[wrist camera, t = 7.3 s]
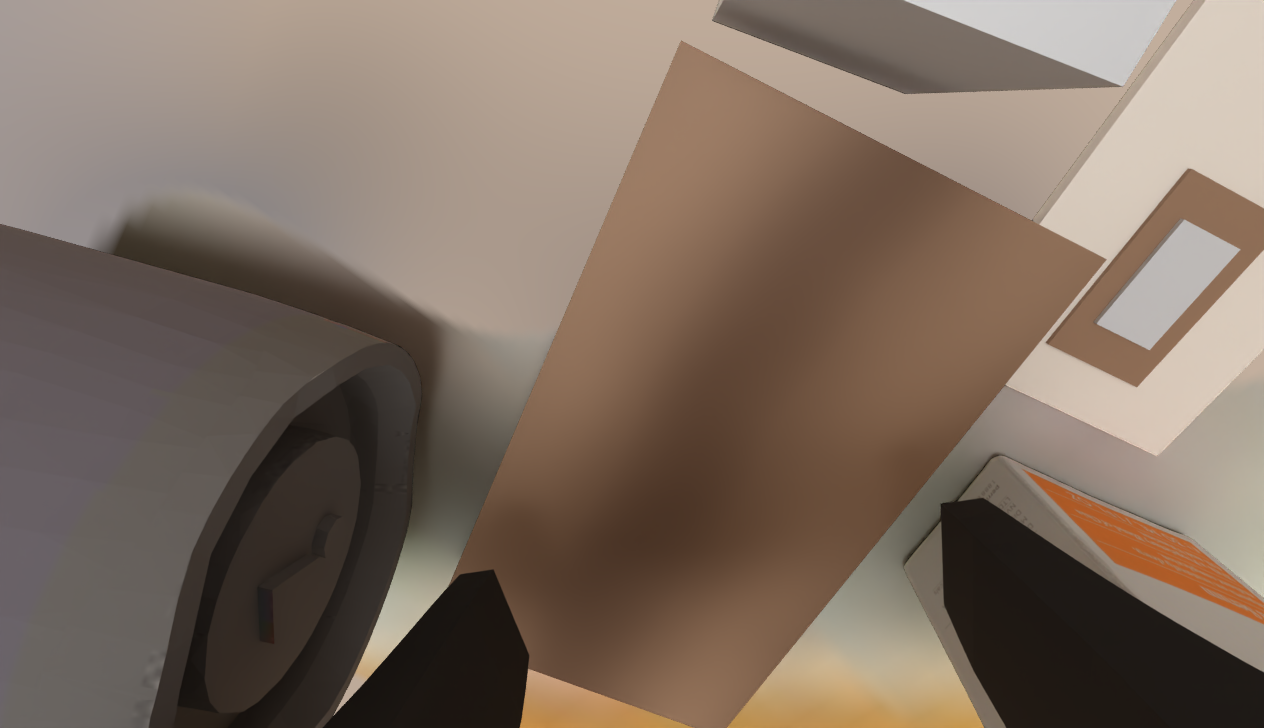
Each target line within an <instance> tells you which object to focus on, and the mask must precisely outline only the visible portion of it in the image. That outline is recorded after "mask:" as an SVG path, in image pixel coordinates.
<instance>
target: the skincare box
mask: <svg viewBox="0 0 1264 728" xmlns="http://www.w3.org/2000/svg"><path fill="white" fill-rule="evenodd" d="M977 498H985V499H986V500H988V501H989V502H991V503H992V504H994V505H995V506H997V507H998V508H1000V509H1001V510H1003V511H1004V512H1006V513H1007V514H1009V515H1010V516H1012V517H1013V518H1015V519H1016V520H1018V521H1019V522H1020V523H1022V524H1023V525H1025V526H1026V527H1028V528H1029V529H1031V530H1032V531H1034V532H1035V533H1037V534H1038V535H1040V536H1041V537H1043V538H1044V539H1046V540H1047V541H1049V542H1050V543H1052V544H1053V545H1055V546H1056V547H1058V548H1059V549H1061V550H1062V551H1064V552H1065V553H1067V554H1068V555H1070V556H1071V557H1073V558H1074V559H1076V560H1077V561H1079V562H1080V563H1082V564H1084V565H1085V566H1087V567H1088V568H1090V569H1091V570H1093V571H1094V572H1096V573H1097V574H1099V575H1101V576H1102V577H1104V578H1105V579H1107V580H1108V581H1110V582H1112V583H1113V584H1115V585H1116V586H1118V587H1120V588H1121V589H1123V590H1124V591H1126V592H1127V593H1129V594H1131V595H1132V596H1134V597H1135V598H1137V599H1139V600H1140V601H1142V602H1144V603H1145V604H1147V605H1148V606H1150V607H1152V608H1153V609H1155V610H1157V611H1158V612H1160V613H1162V614H1163V615H1165V616H1167V617H1168V618H1170V619H1172V620H1173V621H1175V622H1177V623H1178V624H1180V625H1182V626H1184V627H1185V628H1187V629H1189V630H1190V631H1192V632H1194V633H1196V634H1197V635H1199V636H1201V637H1203V638H1204V639H1206V640H1208V641H1209V642H1211V643H1213V644H1215V645H1216V646H1218V647H1220V648H1222V649H1223V650H1225V651H1227V652H1229V653H1230V654H1232V655H1234V656H1235V657H1237V658H1239V659H1241V660H1242V661H1244V662H1246V663H1248V664H1250V665H1251V666H1253V667H1255V668H1257V669H1259V670H1261V671H1262V672H1264V598H1263V597H1262V596H1261V595H1259V594H1258V593H1257V592H1256V591H1255V590H1253V589H1252V588H1251V587H1250V586H1248V585H1247V584H1246V583H1245V582H1244V581H1242V580H1241V579H1240V578H1239V577H1238V576H1236V575H1235V574H1234V573H1233V572H1232V571H1230V570H1229V569H1228V568H1227V567H1225V566H1224V565H1223V564H1222V563H1221V562H1219V561H1218V560H1217V559H1216V558H1215V557H1214V556H1212V555H1211V554H1210V553H1209V552H1207V551H1206V550H1205V549H1204V548H1203V547H1201V546H1200V545H1199V544H1198V543H1197V542H1195V541H1194V540H1193V539H1191V538H1189V537H1187V536H1185V535H1182V534H1179V533H1176V532H1173V531H1171V530H1168V529H1166V528H1163V527H1161V526H1159V525H1156V524H1154V523H1152V522H1150V521H1147V520H1145V519H1143V518H1140V517H1138V516H1136V515H1133V514H1131V513H1129V512H1126V511H1124V510H1122V509H1119V508H1117V507H1114V506H1112V505H1110V504H1107V503H1105V502H1103V501H1100V500H1098V499H1096V498H1093V497H1091V496H1089V495H1087V494H1084V493H1082V492H1080V491H1078V490H1076V489H1074V488H1072V487H1070V486H1068V485H1066V484H1063V483H1061V482H1059V481H1057V480H1055V479H1053V478H1051V477H1049V476H1046V475H1044V474H1042V473H1040V472H1038V471H1035V470H1033V469H1031V468H1029V467H1026V466H1024V465H1022V464H1020V463H1018V462H1016V461H1014V460H1012V459H1010V458H1007V457H1005V456H997V457H994V458H992V459H991V460H990V461H989V462H988V464H987V465H986V466H985V468H984V469H983V470H982V471H981V473H980V474H979V475H978V476H977V478H976V479H975V480H974V481H973V483H972V484H971V485H970V486H969V487H968V489H967V490H966V491H965V492H964V494H963V495H962V496H961V497H960V498H959V500H958V501H964V500H970V499H977ZM904 570H905V573H906V575H907V577H908V579H909V581H910V583H911V585H912V587H913V589H914V591H915V593H916V595H917V597H918V599H919V601H920V602H921V604H922V606H923V608H924V610H925V612H926V614H927V616H928V618H929V620H930V622H931V624H932V626H933V628H934V630H935V631H936V633H937V635H938V637H939V639H940V641H941V643H942V645H943V647H944V649H945V651H946V653H947V655H948V657H949V659H950V661H951V663H952V665H953V667H954V669H955V671H956V673H957V675H958V677H959V679H960V681H961V682H962V684H963V686H964V688H965V690H966V692H967V694H968V696H969V698H970V700H971V702H972V704H973V706H974V708H975V710H976V712H977V714H978V716H979V718H980V720H981V722H982V724H983V726H984V728H1006V727H1005V725H1004V723H1003V721H1002V720H1001V718H1000V716H999V714H998V713H997V711H996V709H995V708H994V706H993V704H992V702H991V701H990V699H989V697H988V695H987V694H986V692H985V690H984V689H983V687H982V685H981V683H980V682H979V680H978V678H977V676H976V675H975V673H974V671H973V669H972V667H971V664H970V662H969V660H968V658H967V656H966V654H965V651H964V649H963V647H962V645H961V643H960V640H959V638H958V636H957V634H956V631H955V629H954V627H953V624H952V622H951V620H950V617H949V615H948V613H947V611H946V608H945V606H944V598H943V565H942V533H941V522H940V523H939V524H938V525H937V526H936V527H935V528H934V530H933V531H932V532H931V533H930V535H929V536H928V537H927V538H926V539H925V540H924V541H923V542H922V544H921V545H920V546H919V547H918V548H917V550H916V551H915V552H914V553H913V555H912V556H911V557H910V558H909V560H908V561H907V562H906V564H905V566H904Z"/></svg>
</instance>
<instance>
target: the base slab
mask: <svg viewBox="0 0 1264 728" xmlns="http://www.w3.org/2000/svg"><path fill="white" fill-rule="evenodd" d="M1106 260H1107V259H1105V258H1103V257H1101V256H1099V255H1097V254H1096V253H1094V252H1092V251H1090V250H1088V249H1086V248H1084V247H1082V246H1080V245H1078V244H1076V243H1074V242H1072V241H1070V240H1068V239H1066V238H1064V237H1062V236H1060V235H1059V234H1057V233H1055V232H1053V231H1051V230H1049V229H1047V228H1045V227H1043V226H1041V225H1039V224H1037V223H1035V222H1033V221H1031V220H1029V219H1027V218H1025V217H1023V216H1021V215H1020V214H1018V213H1016V212H1014V211H1012V210H1010V209H1008V208H1006V207H1004V206H1002V205H1000V204H998V203H996V202H994V201H992V200H990V199H988V198H986V197H985V196H983V195H981V194H979V193H977V192H975V191H973V190H971V189H969V188H967V187H965V186H963V185H961V184H959V183H957V182H955V181H953V180H951V179H949V178H947V177H946V176H944V175H942V174H940V173H938V172H936V171H934V170H932V169H930V168H928V167H926V166H924V165H922V164H920V163H918V162H916V161H914V160H912V159H911V158H909V157H907V156H905V155H903V154H901V153H899V152H897V151H895V150H893V149H891V148H889V147H887V146H885V145H883V144H881V143H879V142H877V141H875V140H873V139H872V138H870V137H867V136H866V135H864V134H862V133H860V132H858V131H856V130H854V129H852V128H850V127H848V126H846V125H844V124H842V123H840V122H838V121H837V120H835V119H833V118H831V117H829V116H827V115H825V114H823V113H821V112H819V111H817V110H815V109H813V108H811V107H809V106H807V105H805V104H803V103H801V102H800V101H797V100H795V99H793V98H792V97H790V96H788V95H786V94H784V93H782V92H780V91H778V90H776V89H774V88H772V87H770V86H768V85H766V84H764V83H762V82H761V81H759V80H757V79H754V78H753V77H751V76H749V75H747V74H745V73H743V72H741V71H739V70H737V69H735V68H733V67H731V66H729V65H727V64H726V63H724V62H722V61H720V60H718V59H716V58H714V57H712V56H710V55H708V54H706V53H704V52H702V51H700V50H698V49H696V48H694V47H692V46H690V45H688V44H687V43H684V42H683V41H681V42H680V44H679V47H678V49H677V51H676V54H675V56H674V59H673V61H672V63H671V66H670V68H669V71H668V73H667V75H666V77H665V80H664V82H663V84H662V87H661V89H660V91H659V94H658V96H657V98H656V101H655V104H654V106H653V108H652V110H651V113H650V115H649V117H648V119H647V122H646V124H645V127H644V129H643V131H642V134H641V136H640V138H639V141H638V143H637V145H636V148H635V150H634V153H633V155H632V157H631V159H630V162H629V164H628V166H627V169H626V171H625V173H624V176H623V178H622V181H621V183H620V186H619V188H618V190H617V192H616V195H615V197H614V199H613V202H612V204H611V206H610V209H609V211H608V214H607V216H606V218H605V221H604V223H603V225H602V228H601V230H600V232H599V235H598V237H597V239H596V242H595V244H594V246H593V249H592V251H591V253H590V256H589V258H588V260H587V263H586V265H585V267H584V270H583V272H582V275H581V277H580V279H579V282H578V284H577V286H576V288H575V291H574V293H573V296H572V298H571V300H570V303H569V305H568V307H567V310H566V312H565V314H564V317H563V319H562V321H561V324H560V326H559V328H558V331H557V333H556V335H555V338H554V340H553V342H552V345H551V347H550V349H549V352H548V354H547V357H546V359H545V361H544V364H543V366H542V368H541V371H540V373H539V375H538V378H537V380H536V382H535V385H534V387H533V389H532V392H531V394H530V396H529V399H528V401H527V403H526V406H525V408H524V411H523V413H522V415H521V418H520V420H519V422H518V425H517V427H516V429H515V432H514V434H513V436H512V439H511V441H510V443H509V446H508V448H507V450H506V453H505V455H504V457H503V460H502V462H501V464H500V467H499V469H498V472H497V474H496V476H495V479H494V481H493V483H492V486H491V488H490V490H489V493H488V495H487V497H486V500H485V502H484V504H483V507H482V509H481V511H480V514H479V516H478V518H477V521H476V523H475V526H474V528H473V530H472V533H471V535H470V537H469V540H468V542H467V544H466V547H465V549H464V551H463V554H462V556H461V558H460V561H459V563H458V565H457V568H456V570H455V572H454V575H453V577H452V579H451V582H450V584H451V583H452V582H453V581H454V580H455V579H456V578H457V577H458V576H459V575H460V574H465V573H472V572H479V571H485V570H492V569H494V571H495V574H496V576H497V579H498V581H499V583H500V586H501V588H502V591H503V593H504V595H505V598H506V600H507V603H508V605H509V607H510V610H511V612H512V615H513V617H514V619H515V622H516V624H517V627H518V629H519V631H520V634H521V636H522V639H523V641H524V643H525V646H526V648H527V651H528V653H529V664H528V669H531V670H534V671H536V672H539V673H542V674H545V675H548V676H551V677H553V678H556V679H559V680H562V681H565V682H567V683H570V684H573V685H576V686H579V687H581V688H584V689H587V690H590V691H593V692H595V693H598V694H601V695H604V696H607V697H610V698H612V699H615V700H618V701H621V702H624V703H626V704H629V705H632V706H635V707H638V708H640V709H643V710H646V711H649V712H652V713H654V714H657V715H660V716H663V717H666V718H669V719H671V720H674V721H677V722H680V723H683V724H685V725H688V726H691V727H694V728H727V727H728V725H729V724H730V723H731V722H732V720H733V719H734V718H735V717H736V716H737V714H738V713H739V712H740V711H741V709H742V708H743V707H744V706H745V704H746V703H747V702H748V701H749V700H750V698H751V697H752V696H753V695H754V693H755V692H756V691H757V690H758V688H759V687H760V686H761V685H762V684H763V682H764V681H765V680H766V679H767V677H768V676H769V675H770V674H771V672H772V671H773V670H774V669H775V668H776V666H777V665H778V664H779V663H780V661H781V660H782V659H783V658H784V656H785V655H786V654H787V653H788V652H789V650H790V649H791V648H792V647H793V645H794V644H795V643H796V642H797V640H798V639H799V638H800V637H801V635H802V634H803V633H804V632H805V631H806V629H807V628H808V627H809V626H810V624H811V623H812V622H813V621H814V619H815V618H816V617H817V616H818V615H819V613H820V612H821V611H822V610H823V608H824V607H825V606H826V605H827V603H828V602H829V601H830V600H831V599H832V597H833V596H834V595H835V594H836V592H837V591H838V590H839V589H840V587H841V586H842V585H843V584H844V583H845V581H846V580H847V579H848V578H849V576H850V575H851V574H852V573H853V571H854V570H855V569H856V568H857V567H858V565H859V564H860V563H861V562H862V560H863V559H864V558H865V557H866V555H867V554H868V553H869V552H870V551H871V549H872V548H873V547H874V546H875V544H876V543H877V542H878V541H879V539H880V538H881V537H882V536H883V535H884V533H885V532H886V531H887V530H888V528H889V527H890V526H891V525H892V523H893V522H894V521H895V520H896V519H897V517H898V516H899V515H900V514H901V512H902V511H903V510H904V509H905V507H906V506H907V505H908V504H909V503H910V501H911V500H912V499H913V498H914V496H915V495H916V494H917V493H918V491H919V490H920V489H921V488H922V487H923V485H924V484H925V483H926V482H927V480H928V479H929V478H930V477H931V475H932V474H933V473H934V472H935V470H936V469H937V468H938V467H939V466H940V464H941V463H942V462H943V461H944V459H945V458H946V457H947V456H948V454H949V453H950V452H951V451H952V450H953V448H954V447H955V446H956V445H957V443H958V442H959V441H960V440H961V438H962V437H963V436H964V435H965V434H966V432H967V431H968V430H969V429H970V427H971V426H972V425H973V424H974V422H975V421H976V420H977V419H978V418H979V416H980V415H981V414H982V413H983V411H984V410H985V409H986V408H987V406H988V405H989V404H990V403H991V402H992V400H993V399H994V398H995V397H996V395H997V394H998V393H999V392H1000V390H1001V389H1002V388H1003V387H1004V386H1005V384H1006V383H1007V382H1008V381H1009V379H1010V378H1011V377H1012V376H1013V374H1014V373H1015V372H1016V371H1017V370H1018V368H1019V367H1020V366H1021V365H1022V363H1023V362H1024V361H1025V360H1026V358H1027V357H1028V356H1029V355H1030V354H1031V352H1032V351H1033V350H1034V349H1035V347H1036V346H1037V345H1038V344H1039V342H1040V341H1041V340H1042V339H1043V338H1044V336H1045V335H1046V334H1047V333H1048V331H1049V330H1050V329H1051V328H1052V326H1053V325H1054V324H1055V323H1056V322H1057V320H1058V319H1059V318H1060V317H1061V315H1062V314H1063V313H1064V312H1065V310H1066V309H1067V308H1068V307H1069V305H1070V304H1071V303H1072V302H1073V301H1074V299H1075V298H1076V297H1077V296H1078V294H1079V293H1080V292H1081V291H1082V289H1083V288H1084V287H1085V286H1086V285H1087V283H1088V282H1089V281H1090V280H1091V278H1092V277H1093V276H1094V275H1095V273H1096V272H1097V271H1098V270H1099V269H1100V267H1101V266H1102V265H1103V264H1104V262H1105V261H1106ZM450 584H449V585H450Z"/></svg>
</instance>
